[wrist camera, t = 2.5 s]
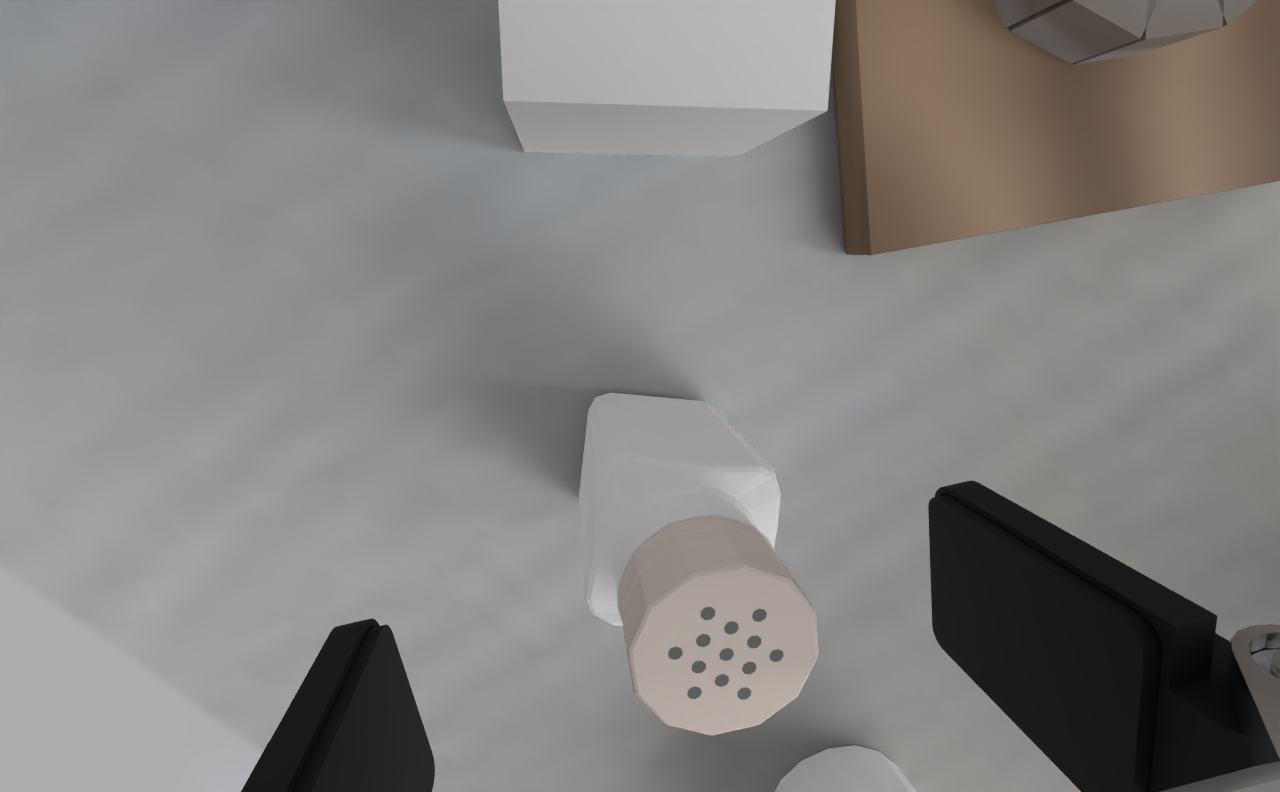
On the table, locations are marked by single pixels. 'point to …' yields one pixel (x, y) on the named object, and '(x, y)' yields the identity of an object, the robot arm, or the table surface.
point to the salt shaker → (691, 563)
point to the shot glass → (845, 773)
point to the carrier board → (1045, 110)
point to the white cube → (663, 73)
